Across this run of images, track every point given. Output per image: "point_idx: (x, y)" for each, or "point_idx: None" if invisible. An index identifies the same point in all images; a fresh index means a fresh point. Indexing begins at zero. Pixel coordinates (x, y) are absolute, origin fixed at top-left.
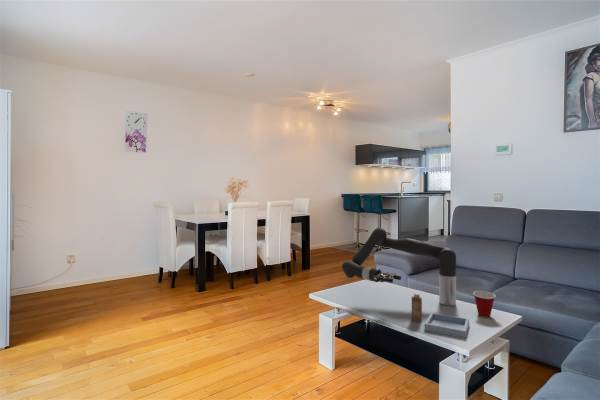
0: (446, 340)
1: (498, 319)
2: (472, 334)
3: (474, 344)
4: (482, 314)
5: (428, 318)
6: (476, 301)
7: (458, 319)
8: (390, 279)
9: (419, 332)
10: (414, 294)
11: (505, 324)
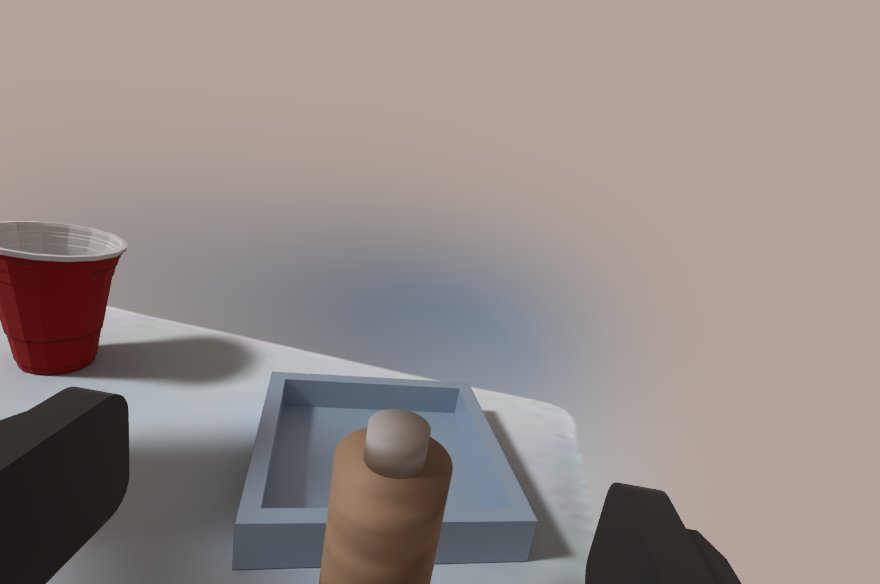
0: (557, 460)
1: (120, 334)
2: None
3: (499, 394)
4: (91, 352)
5: None
6: (60, 297)
7: (280, 409)
8: (699, 545)
9: None
10: (406, 441)
11: (191, 327)
